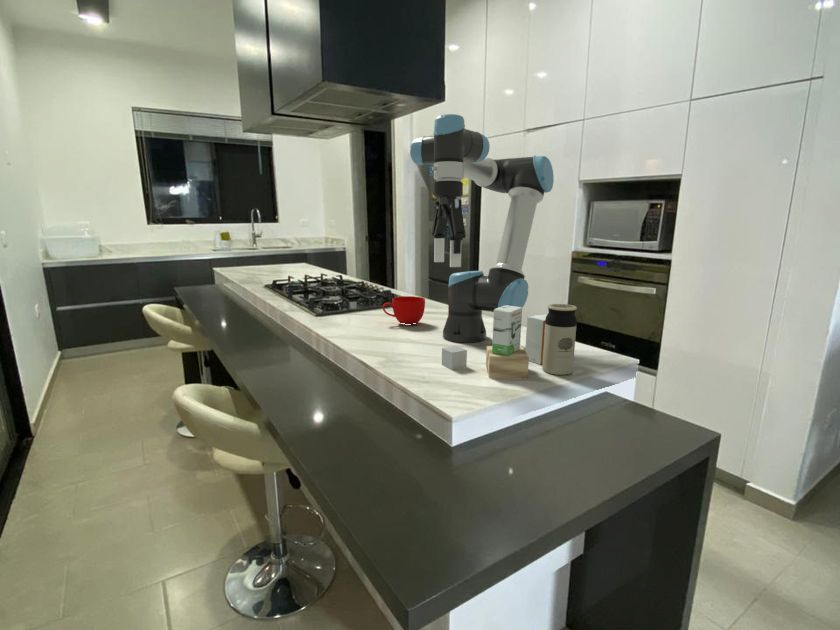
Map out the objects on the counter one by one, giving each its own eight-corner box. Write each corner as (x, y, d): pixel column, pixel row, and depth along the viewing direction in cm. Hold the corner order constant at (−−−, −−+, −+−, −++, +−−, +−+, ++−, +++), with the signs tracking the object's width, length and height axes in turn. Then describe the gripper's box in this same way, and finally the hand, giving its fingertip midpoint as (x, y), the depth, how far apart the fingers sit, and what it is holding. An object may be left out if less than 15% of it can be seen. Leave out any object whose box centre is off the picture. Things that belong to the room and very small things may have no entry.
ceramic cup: (379, 322, 180) (379, 297, 178) (419, 319, 185) (419, 295, 183) (386, 329, 168) (386, 303, 166) (429, 326, 173) (429, 301, 171)
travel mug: (540, 365, 127) (544, 303, 123) (569, 366, 126) (573, 303, 122) (544, 375, 119) (549, 308, 115) (575, 376, 118) (581, 309, 114)
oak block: (485, 366, 127) (486, 345, 125) (521, 367, 126) (522, 346, 125) (488, 378, 117) (489, 356, 116) (527, 379, 116) (528, 357, 115)
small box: (540, 365, 127) (543, 320, 125) (524, 359, 132) (526, 316, 130) (559, 360, 132) (562, 317, 129) (542, 355, 137) (545, 313, 134)
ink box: (508, 356, 116) (510, 311, 113) (490, 353, 118) (492, 309, 116) (520, 348, 123) (523, 306, 120) (503, 345, 125) (505, 304, 123)
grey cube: (441, 365, 127) (442, 348, 126) (456, 362, 129) (456, 345, 128) (451, 370, 123) (452, 352, 122) (466, 367, 125) (466, 350, 124)
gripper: (421, 184, 125) (420, 260, 129) (450, 175, 101) (448, 269, 106) (446, 184, 127) (445, 260, 131) (480, 176, 103) (477, 268, 108)
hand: (446, 264), depth 118 cm, fingers open, 13 cm apart
